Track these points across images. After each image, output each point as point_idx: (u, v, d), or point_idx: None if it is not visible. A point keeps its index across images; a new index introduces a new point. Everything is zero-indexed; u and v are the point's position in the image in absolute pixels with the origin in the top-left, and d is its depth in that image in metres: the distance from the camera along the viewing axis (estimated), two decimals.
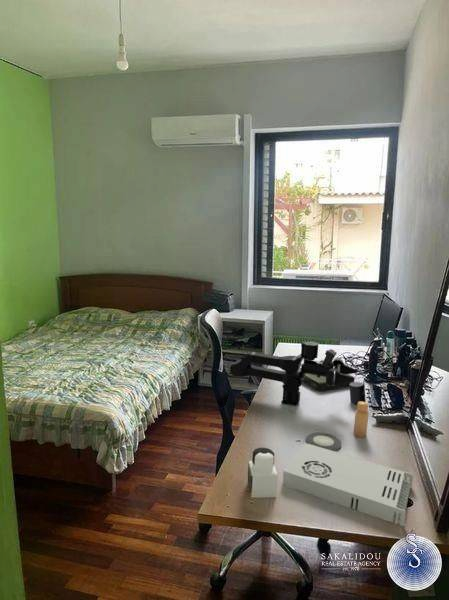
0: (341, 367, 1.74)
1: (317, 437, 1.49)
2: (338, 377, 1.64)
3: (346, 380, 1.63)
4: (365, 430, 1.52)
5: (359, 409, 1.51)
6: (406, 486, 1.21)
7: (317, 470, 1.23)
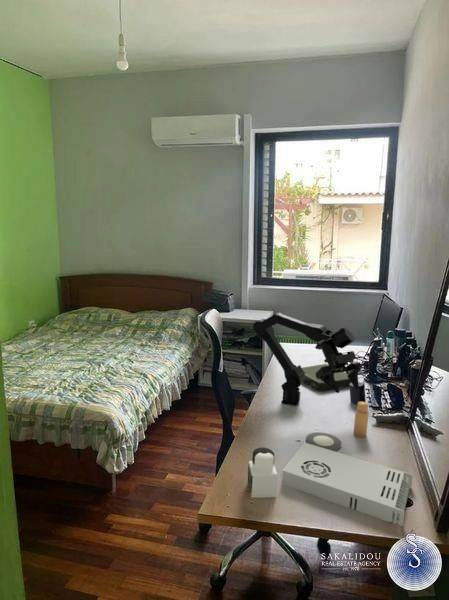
0: (352, 373, 1.64)
1: (317, 437, 1.49)
2: (329, 378, 1.59)
3: (332, 387, 1.58)
4: (365, 430, 1.52)
5: (359, 409, 1.51)
6: (405, 486, 1.21)
7: (316, 470, 1.23)
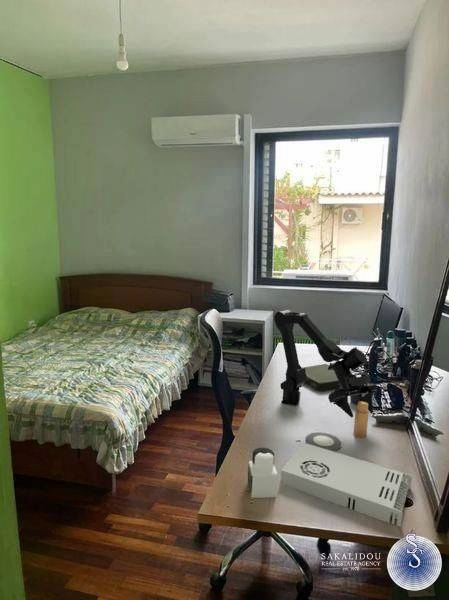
0: (366, 396, 1.57)
1: (317, 437, 1.49)
2: (342, 402, 1.53)
3: (345, 411, 1.52)
4: (365, 430, 1.52)
5: (359, 409, 1.51)
6: (404, 487, 1.21)
7: (315, 470, 1.23)
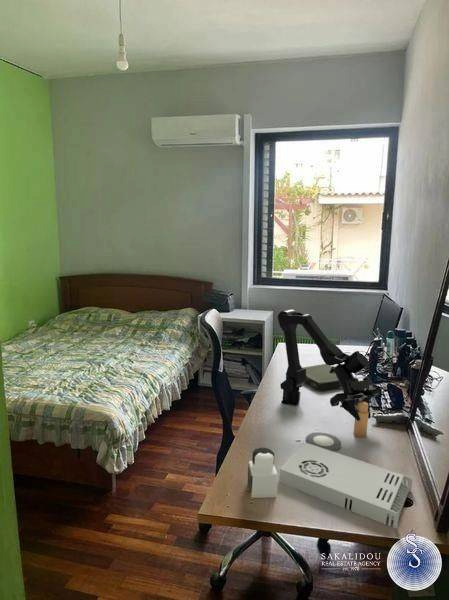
0: (363, 400, 1.56)
1: (317, 437, 1.49)
2: (349, 405, 1.53)
3: (352, 414, 1.52)
4: (365, 430, 1.52)
5: (359, 409, 1.51)
6: (404, 489, 1.20)
7: (314, 469, 1.23)
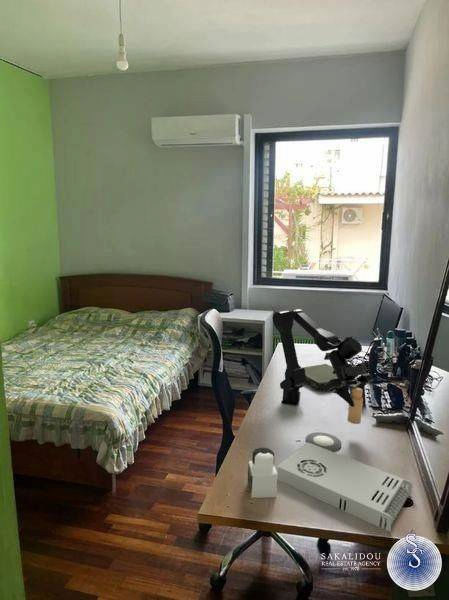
0: (357, 387, 1.53)
1: (317, 437, 1.49)
2: (343, 391, 1.51)
3: (346, 400, 1.50)
4: (359, 416, 1.49)
5: (353, 395, 1.49)
6: (403, 493, 1.18)
7: (311, 469, 1.24)
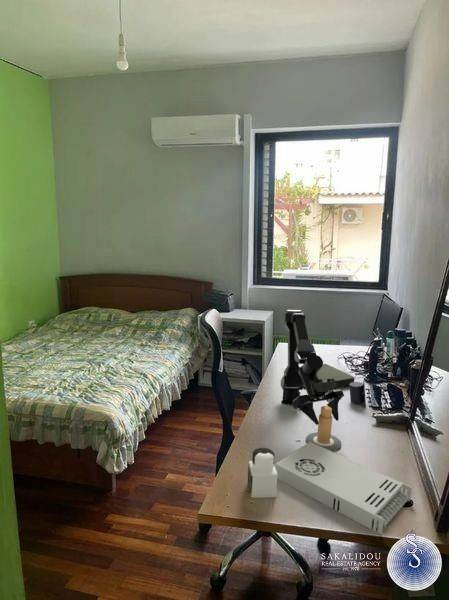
0: (332, 402, 1.49)
1: None
2: (308, 408, 1.45)
3: (311, 417, 1.44)
4: (328, 436, 1.45)
5: (322, 414, 1.44)
6: (402, 498, 1.16)
7: (309, 468, 1.24)
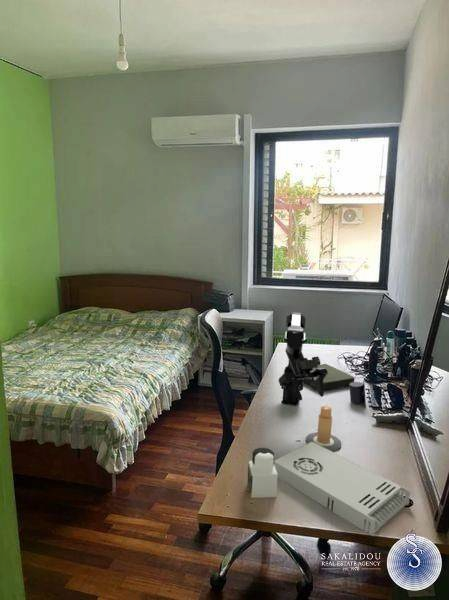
0: (317, 379, 1.57)
1: None
2: (292, 385, 1.53)
3: (295, 393, 1.52)
4: (328, 436, 1.45)
5: (322, 414, 1.44)
6: (399, 501, 1.15)
7: (307, 467, 1.24)
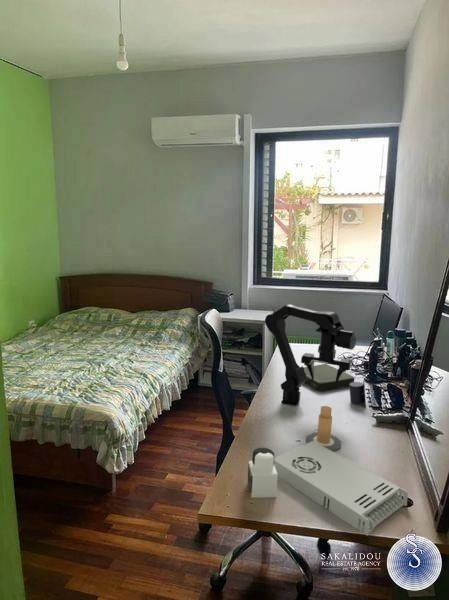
0: (313, 364, 1.70)
1: None
2: None
3: None
4: (328, 436, 1.45)
5: (322, 414, 1.44)
6: (396, 502, 1.14)
7: (306, 465, 1.25)
